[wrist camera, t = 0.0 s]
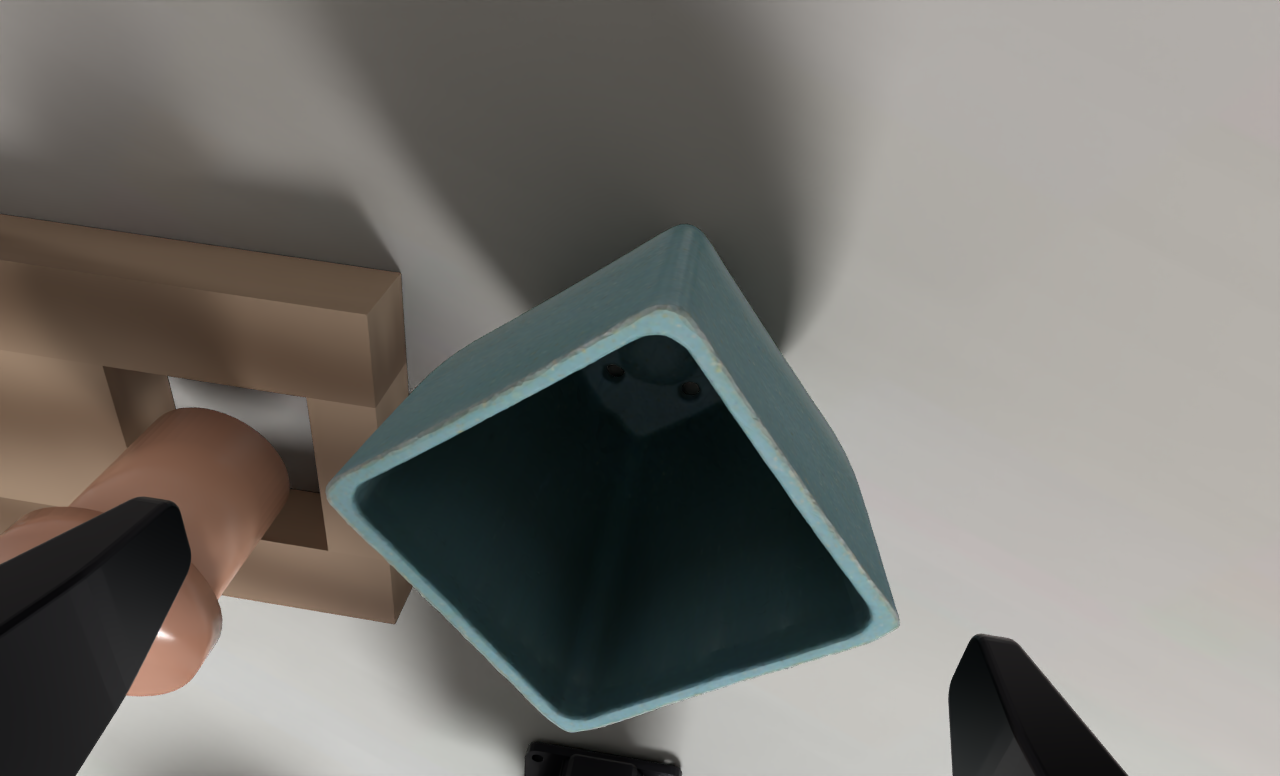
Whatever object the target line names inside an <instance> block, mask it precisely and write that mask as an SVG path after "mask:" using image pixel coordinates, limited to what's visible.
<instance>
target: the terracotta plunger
mask: <svg viewBox="0 0 1280 776" xmlns="http://www.w3.org/2000/svg"><path fill="white" fill-rule="evenodd" d="M289 492H290V481H289V476H288V472H287V469H286V467H285V464H284V463H283V461H282V459H281V457H280V456H279V454H278V453H277V451H276V450H275V449H274V448H273V446H272V445H271V444H270V443H269V442H268V441H267V440H266V439H265V438H264V437H263V436H262V435H261V434H259V433H258V432H257V431H255V430H254V429H253V428H251V427H250V426H248V425H247V424H245V423H244V422H242V421H240V420H238V419H236V418H234V417H232V416H229V415H227V414H224V413H221V412H218V411H215V410H210V409H205V408H196V407H194V408H180V409H175V410H172V411H169V412H167V413H165V414H163V415H162V416H160V417H159V418H158V419H157V420H156V421H155V422H153V423H152V424H151V425H150V426H149V427H148V428H147V429H146V430H145V431H144V432H143V433H142V434H141V435H140V436H139V437H138V438H137V439H136V440H135V441H134V442H133V443H132V444H131V445H130V446H129V447H128V448H127V449H126V450H125V451H124V452H123V453H122V454H121V455H120V456H119V457H118V458H117V459H116V460H115V461H114V462H113V463H112V464H111V465H110V466H109V467H108V468H107V469H106V470H105V471H104V472H103V473H102V474H101V475H100V476H98V477H97V478H96V479H95V480H94V481H93V482H92V483H91V484H90V485H89V486H88V487H87V488H86V489H85V490H84V491H83V492H82V493H81V494H80V495H79V496H78V497H77V498H76V499H75V500H74V501H73V502H72V503H71V504H70V505H69V506H68V507H48V508H42V509H38V510H34V511H32V512H29V513H27V514H25V515H23V516H22V517H20V518H19V519H17V520H16V521H15V522H14V523H13V524H12V525H11V526H9V527H8V528H7V529H6V530H5V531H4V532H3V533H2V534H1V535H0V564H2V563H4V562H6V561H8V560H10V559H12V558H14V557H16V556H18V555H20V554H22V553H24V552H26V551H28V550H30V549H32V548H34V547H36V546H38V545H40V544H42V543H44V542H46V541H48V540H50V539H52V538H54V537H56V536H58V535H60V534H62V533H64V532H66V531H68V530H70V529H72V528H74V527H76V526H78V525H80V524H82V523H84V522H86V521H88V520H90V519H92V518H94V517H96V516H98V515H100V514H102V513H104V512H106V511H108V510H110V509H112V508H114V507H116V506H118V505H120V504H122V503H124V502H126V501H128V500H130V499H133V498H135V497H142V496H145V497H151V498H157V499H164V500H170V501H172V502H174V503H175V504H176V505H177V506H178V507H179V509H180V511H181V515H182V519H183V523H184V526H185V530H186V534H187V538H188V541H189V545H190V549H191V564H190V568H189V571H188V574H187V576H186V578H185V580H184V582H183V584H182V586H181V588H180V590H179V592H178V594H177V596H176V598H175V600H174V602H173V604H172V606H171V608H170V610H169V612H168V614H167V616H166V618H165V620H164V622H163V624H162V626H161V628H160V630H159V632H158V634H157V636H156V638H155V640H154V642H153V644H152V646H151V648H150V650H149V652H148V654H147V656H146V658H145V660H144V662H143V664H142V666H141V668H140V670H139V672H138V674H137V676H136V678H135V680H134V682H133V684H132V686H131V687H130V689H129V691H128V693H127V695H128V696H154V695H160V694H166V693H169V692H172V691H175V690H177V689H179V688H181V687H183V686H184V685H185V684H187V683H188V682H189V681H190V680H191V679H192V678H193V677H194V676H195V674H196V673H197V671H198V670H199V668H200V667H201V665H202V664H203V662H204V661H205V659H206V658H207V656H208V655H209V653H210V652H211V651H212V649H213V648H214V646H215V645H216V643H217V641H218V639H219V637H220V634H221V630H222V614H221V608H220V606H219V603H218V599H219V598H220V596H221V595H222V593H223V592H224V590H225V589H226V588H227V586H228V585H229V583H230V582H231V581H232V579H233V578H234V576H235V575H236V573H237V572H238V571H239V569H240V568H241V566H242V565H243V564H244V562H245V561H246V559H247V558H248V556H249V555H250V554H251V552H252V551H253V549H254V548H255V547H256V545H257V544H258V542H259V541H260V539H261V538H262V537H263V535H264V534H265V532H266V531H267V530H268V528H269V527H270V525H271V524H272V522H273V521H274V520H275V518H276V517H277V515H278V514H279V513H280V511H281V510H282V508H283V507H284V505H285V504H286V502H287V500H288V496H289Z"/></svg>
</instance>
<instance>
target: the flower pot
mask: <svg viewBox="0 0 1280 776" xmlns="http://www.w3.org/2000/svg"><path fill="white" fill-rule="evenodd" d="M612 364H615V365H617V366H619V367H621V368H622V369H623V370H624V374H623V375H622V376H619V377H615V376H612V375H610V373H609V372H608V370H607V367H608V365H612ZM686 382H694V383H696V384H697V385H698V386H699V388H700V391H699V392H698V393H697V394H696V395H687V394H685V393H684V392H683V391H682V385H683V384H684V383H686ZM325 493H326V496H327V500H328V502H329V504H330V505H331V506H332V507H333V508H334V509H335V510H336V511H337V512H338V514H339V515H340V516H341V517H342V518H343V519H344V520H345V521H346V523H347V524H348V525H350V526H351V527H352V528H353V529H354V530H355V531H356V532H357V533H358V534H359V535H360V536H361V537H362V538H363V539H364V540H365V541H366V542H367V543H368V544H369V545H370V546H371V547H372V548H374V549H375V550H376V551H377V552H378V553H379V554H381V555H382V556H383V557H384V559H385V560H386V561H387V562H388V563H389V564H390V565H391V566H393V567H394V568H395V569H396V570H397V571H398V572H399V573H400V574H401V575H402V576H403V577H404V578H405V579H406V580H407V581H408V582H409V583H410V584H411V585H412V586H413V587H414V588H415V589H416V590H417V591H418V592H419V593H420V595H421V596H422V597H424V598H425V599H426V600H427V601H428V602H429V603H430V604H431V605H432V606H433V607H434V608H435V609H437V610H438V611H439V612H440V613H441V614H442V615H443V616H444V617H445V618H446V619H447V621H448V622H450V623H451V624H452V625H453V626H454V627H455V628H456V629H457V630H458V631H459V632H460V633H461V634H462V636H463V637H464V638H465V639H466V640H467V641H469V642H470V643H471V644H472V645H473V646H474V647H475V648H476V649H477V650H478V651H479V652H480V653H481V654H482V655H484V657H485V658H486V659H487V660H488V661H489V662H490V663H491V664H492V665H493V666H494V668H495V669H496V670H497V671H498V672H499V673H501V674H502V675H503V676H504V677H505V678H506V679H507V680H509V681H510V682H511V683H512V684H513V685H514V686H515V688H516V689H517V690H518V691H519V692H520V693H522V695H523V696H524V697H525V698H526V699H527V700H528V701H529V702H530V703H531V704H532V705H533V706H534V707H535V708H536V709H537V710H538V711H539V712H540V713H541V714H542V715H544V716H545V717H546V718H547V719H548V720H550V721H551V722H552V723H554V724H555V725H557V726H558V727H559V728H561V729H562V730H564V731H567V732H570V733H573V732H579V731H585V730H591V729H597V728H601V727H606V726H607V725H612V724H614V723H617V722H620V721H623V720H625V719H630V718H633V717H635V716H639V715H641V714H644V713H646V712H650V711H653V710H657V709H658V708H660V707H664V706H667V705H672V704H674V703H675V702H679V701H683V700H685V699H687V698H691V697H695V696H698V695H702V694H704V693H707V692H710V691H714V690H718V689H719V688H724V687H726V686H729V685H732V684H735V683H738V682H741V681H746V680H748V679H753V678H756V677H759V676H761V675H765V674H769V673H773V672H775V671H780V670H783V669H788V668H792V667H794V666H797V665H799V664H802V663H805V662H809V661H814V660H817V659H820V658H823V657H826V656H828V655H833V654H837V653H840V652H843V651H846V650H849V649H852V648H856V647H859V646H862V645H865V644H868V643H871V642H873V641H875V640H877V639H879V638H881V637H883V636H885V635H887V634H889V633H890V632H892V631H894V630H895V629H897V628H898V627H899V626H900V621H899V615H898V613H897V610H896V607H895V603H894V600H893V597H892V593H891V590H890V587H889V583H888V580H887V577H886V574H885V570H884V567H883V564H882V560H881V557H880V553H879V550H878V546H877V543H876V540H875V537H874V534H873V530H872V527H871V523H870V520H869V516H868V513H867V510H866V507H865V504H864V500H863V497H862V494H861V491H860V488H859V485H858V482H857V479H856V477H855V474H854V471H853V469H852V467H851V465H850V462H849V460H848V458H847V456H846V453H845V452H844V450H843V448H842V446H841V444H840V442H839V441H838V439H837V437H836V435H835V434H834V432H833V430H832V429H831V427H830V426H829V424H828V423H827V421H826V420H825V418H824V417H823V415H822V414H821V412H820V411H819V409H818V408H817V406H816V405H815V404H814V402H813V401H812V399H811V397H810V396H809V394H808V393H807V391H806V390H805V388H804V387H803V385H802V384H801V382H800V381H799V379H798V378H797V376H796V375H795V373H794V372H793V370H792V369H791V367H790V366H789V364H788V363H787V361H786V360H785V358H784V357H783V355H782V354H781V352H780V351H779V349H778V348H777V346H776V345H775V343H774V341H773V340H772V338H771V337H770V335H769V334H768V332H767V331H766V329H765V328H764V326H763V325H762V323H761V321H760V320H759V318H758V317H757V315H756V314H755V312H754V311H753V309H752V308H751V306H750V304H749V303H748V301H747V300H746V298H745V297H744V295H743V294H742V292H741V290H740V289H739V287H738V286H737V284H736V283H735V281H734V279H733V278H732V276H731V275H730V273H729V272H728V270H727V269H726V267H725V265H724V264H723V262H722V260H721V259H720V257H719V256H718V254H717V252H716V251H715V249H714V247H713V246H712V244H711V243H710V241H709V240H708V239H707V237H706V236H705V235H704V233H703V232H702V231H700V230H699V229H698V228H696V227H695V226H693V225H689V224H680V225H677V226H675V227H672V228H670V229H668V230H666V231H664V232H663V233H661V234H659V235H657V236H656V237H654V238H652V239H651V240H649V241H647V242H646V243H644V244H642V245H641V246H639V247H637V248H636V249H634V250H632V251H631V252H629V253H627V254H626V255H624V256H622V257H621V258H619V259H617V260H616V261H614V262H612V263H610V264H609V265H607V266H605V267H604V268H602V269H600V270H598V271H597V272H595V273H593V274H592V275H590V276H588V277H586V278H585V279H583V280H581V281H580V282H578V283H576V284H574V285H573V286H571V287H569V288H568V289H566V290H564V291H562V292H561V293H559V294H557V295H555V296H554V297H552V298H550V299H548V300H547V301H545V302H543V303H541V304H540V305H538V306H536V307H534V308H533V309H531V310H529V311H527V312H525V313H524V314H522V315H520V316H519V317H517V318H515V319H513V320H512V321H510V322H508V323H506V324H504V325H503V326H501V327H499V328H497V329H495V330H494V331H492V332H490V333H488V334H486V335H485V336H483V337H481V338H479V339H478V340H476V341H474V342H472V343H471V344H469V345H468V346H466V347H465V348H463V349H461V350H460V351H458V352H457V353H456V354H454V355H453V356H451V357H450V358H449V359H447V360H446V361H445V362H443V363H442V364H441V365H440V366H439V367H437V368H436V369H435V370H434V371H433V372H432V373H431V374H429V375H428V376H427V377H426V378H425V379H424V380H423V381H422V382H421V383H420V384H419V385H418V386H417V387H416V388H415V389H414V390H413V392H412V393H411V394H410V395H409V396H408V397H407V398H406V399H405V400H404V401H403V402H402V403H401V404H400V405H399V406H398V407H397V408H396V409H395V410H394V412H393V413H392V414H391V415H390V416H389V417H388V418H387V419H386V420H385V421H384V422H383V423H382V424H381V425H380V427H379V428H378V429H377V430H376V431H375V432H374V433H373V434H372V435H371V436H370V437H369V438H368V439H367V440H366V442H365V443H364V444H363V445H362V446H361V447H360V448H359V449H358V451H357V452H356V453H355V454H354V455H353V456H352V457H351V458H350V460H349V461H348V462H347V463H346V464H345V465H344V466H343V467H342V468H341V469H340V471H339V472H338V473H337V474H336V475H335V476H334V477H333V478H332V479H331V481H330V482H329V483H328V485H327V486H326V491H325Z"/></svg>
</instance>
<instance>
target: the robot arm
mask: <svg viewBox="0 0 1280 776" xmlns="http://www.w3.org/2000/svg"><path fill="white" fill-rule="evenodd" d="M190 564H191V549H190V545H189V541H188V538H187V534H186V530H185V526H184V523H183V519H182V515H181V511H180V509H179V507H178V506H177V505H176V504H175V503H174V502H172V501H170V500H164V499H157V498H151V497H145V496H142V497H135V498H133V499H130V500H128V501H126V502H124V503H122V504H120V505H118V506H116V507H114V508H112V509H110V510H108V511H106V512H104V513H102V514H100V515H98V516H96V517H94V518H92V519H90V520H88V521H86V522H84V523H82V524H80V525H78V526H76V527H74V528H72V529H70V530H68V531H66V532H64V533H62V534H60V535H58V536H56V537H54V538H52V539H50V540H48V541H46V542H44V543H42V544H40V545H38V546H36V547H34V548H32V549H30V550H28V551H26V552H24V553H22V554H20V555H18V556H16V557H14V558H12V559H10V560H8V561H6V562H4V563H2V564H0V776H76V774H77V773H78V771H79V770H80V768H81V766H82V765H83V763H84V762H85V760H86V758H87V757H88V755H89V754H90V752H91V751H92V749H93V747H94V746H95V744H96V743H97V741H98V740H99V738H100V736H101V735H102V733H103V732H104V730H105V729H106V727H107V725H108V724H109V722H110V721H111V719H112V717H113V716H114V714H115V713H116V711H117V709H118V708H119V706H120V704H121V703H122V701H123V700H124V698H125V696H126V695H127V693H128V691H129V689H130V687H131V686H132V684H133V682H134V680H135V678H136V676H137V674H138V672H139V670H140V668H141V666H142V664H143V662H144V660H145V658H146V656H147V654H148V652H149V650H150V648H151V646H152V644H153V642H154V640H155V638H156V636H157V634H158V632H159V630H160V628H161V626H162V624H163V622H164V620H165V618H166V616H167V614H168V612H169V610H170V608H171V606H172V604H173V602H174V600H175V598H176V596H177V594H178V592H179V590H180V588H181V586H182V584H183V582H184V580H185V578H186V576H187V574H188V571H189V568H190ZM948 704H949V721H950V738H951V755H952V773H953V776H1128V775H1127V774H1126V772H1125V771H1124V770H1123V769H1122V768H1121V766H1120V765H1119V764H1118V763H1117V762H1116V760H1115V759H1114V758H1113V757H1112V756H1111V754H1110V753H1109V752H1108V751H1107V750H1106V748H1105V747H1104V746H1103V745H1102V744H1101V742H1100V741H1099V740H1098V739H1097V738H1096V736H1095V735H1094V734H1093V733H1092V732H1091V730H1090V729H1089V728H1088V727H1087V726H1086V724H1085V723H1084V722H1083V721H1082V720H1081V718H1080V717H1079V716H1078V715H1077V714H1076V712H1075V711H1074V710H1073V709H1072V707H1071V706H1070V705H1069V704H1068V703H1067V701H1066V700H1065V699H1064V698H1063V697H1062V695H1061V694H1060V693H1059V692H1058V691H1057V689H1056V688H1055V687H1054V686H1053V685H1052V683H1051V682H1050V681H1049V680H1048V679H1047V677H1046V676H1045V675H1044V674H1043V673H1042V671H1041V670H1040V669H1039V668H1038V667H1037V665H1036V664H1035V663H1034V662H1033V661H1032V659H1031V658H1030V657H1029V656H1028V655H1027V653H1026V652H1025V651H1024V650H1023V649H1022V647H1021V646H1020V645H1019V644H1018V643H1016V642H1015V641H1014V640H1012V639H1009V638H1004V637H998V636H992V635H986V634H977V635H975V636H973V637H972V638H971V640H970V641H969V643H968V645H967V648H966V650H965V652H964V654H963V656H962V658H961V660H960V662H959V665H958V667H957V669H956V671H955V673H954V675H953V677H952V680H951V683H950V687H949V697H948ZM525 776H682V771H681V770H680V769H679V768H677V767H675V766H672V765H667V764H661V763H655V762H649V761H644V760H638V759H632V758H626V757H621V756H615V755H609V754H603V753H598V752H592V751H586V750H580V749H575V748H569V747H563V746H557V745H552V744H546V743H540V742H534V743H531V744H529V746H528V749H527V752H526V756H525Z"/></svg>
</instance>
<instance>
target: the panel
mask: <svg viewBox="0 0 1280 776" xmlns="http://www.w3.org/2000/svg"><path fill="white" fill-rule="evenodd" d="M167 376H171V377H178V378H184V379H191V380H197V381H203V382H210V383H216V384H223V385H229V386H236V387H242V388H249V389H255V390H261V391H268V392H274V393H281V394H287V395H294V396H300V397H306V399H307V406H308V413H309V419H310V426H311V433H312V440H313V447H314V454H315V461H316V468H317V475H318V482H319V489H320V494H319V493H313V492H307V491H301V490H294V489H290V492H289V496H288V500H287V502H286V504H285V505H284V507H283V508H282V510H281V511H280V513H279V514H278V515H277V517H276V518H275V520H274V521H273V522H272V524H271V525H270V527H269V528H268V530H267V531H266V532H265V534H264V535H263V537H262V538H261V539H260V541H259V542H258V544H257V545H256V547H255V548H254V549H253V551H252V552H251V554H250V555H249V556H248V558H247V559H246V561H245V562H244V564H243V565H242V566H241V568H240V569H239V571H238V572H237V573H236V575H235V576H234V578H233V579H232V581H231V582H230V583H229V585H228V586H227V588H226V589H225V590H224V592H223V593H222V595H224V596H230V597H236V598H242V599H248V600H254V601H260V602H265V603H271V604H277V605H283V606H289V607H295V608H301V609H307V610H313V611H319V612H325V613H331V614H337V615H343V616H349V617H355V618H361V619H367V620H372V621H378V622H384V623H390V624H396V621H397V619H398V617H399V615H400V613H401V611H402V608H403V606H404V604H405V602H406V600H407V598H408V596H409V593H410V591H411V589H412V587H413V586H412V585H411V584H410V583H409V582H408V581H407V580H406V579H405V578H404V577H403V576H402V575H401V574H400V573H399V572H398V571H397V570H396V569H395V568H394V567H393V566H391V565H390V564H389V563H388V562H387V561H386V560H385V559H384V557H383V556H382V555H381V554H379V553H378V552H377V551H376V550H375V549H374V548H372V547H371V546H370V545H369V544H368V543H367V542H366V541H365V540H364V539H363V538H362V537H361V536H360V535H359V534H358V533H357V532H356V531H355V530H354V529H353V528H352V527H351V526H350V525H348V524H347V523H346V521H345V520H344V519H343V518H342V517H341V516H340V515H339V514H338V512H337V511H336V510H335V509H334V508H333V507H332V506H331V505H330V504H329V502H328V500H327V496H326V493H325V491H326V486H327V485H328V483H329V482H330V481H331V479H332V478H333V477H334V476H335V475H336V474H337V473H338V472H339V471H340V469H341V468H342V467H343V466H344V465H345V464H346V463H347V462H348V461H349V460H350V458H351V457H352V456H353V455H354V454H355V453H356V452H357V451H358V449H359V448H360V447H361V446H362V445H363V444H364V443H365V442H366V440H367V439H368V438H369V437H370V436H371V435H372V434H373V433H374V432H375V431H376V430H377V429H378V428H379V427H380V425H381V424H382V423H383V422H384V421H385V420H386V419H387V418H388V417H389V416H390V415H391V414H392V413H393V412H394V410H395V409H396V408H397V407H398V406H399V405H400V404H401V403H402V402H403V401H404V400H405V399H406V398H407V397H408V396H409V392H408V376H407V361H406V345H405V329H404V314H403V298H402V283H401V273H397V272H391V271H384V270H377V269H370V268H363V267H357V266H350V265H343V264H336V263H329V262H323V261H316V260H309V259H302V258H295V257H289V256H282V255H275V254H268V253H261V252H255V251H248V250H241V249H234V248H227V247H221V246H214V245H207V244H200V243H193V242H187V241H180V240H173V239H166V238H159V237H153V236H146V235H139V234H132V233H125V232H118V231H112V230H105V229H98V228H91V227H84V226H78V225H71V224H64V223H57V222H50V221H44V220H37V219H30V218H23V217H16V216H10V215H3V214H0V535H1V534H2V533H3V532H4V531H5V530H6V529H7V528H8V527H9V526H11V525H12V524H13V523H14V522H15V521H16V520H17V519H19V518H20V517H22V516H23V515H25V514H27V513H29V512H32V511H34V510H38V509H42V508H48V507H68V506H69V505H70V504H71V503H72V502H73V501H74V500H75V499H76V498H77V497H78V496H79V495H80V494H81V493H82V492H83V491H84V490H85V489H86V488H87V487H88V486H89V485H90V484H91V483H92V482H93V481H94V480H95V479H96V478H97V477H98V476H100V475H101V474H102V473H103V472H104V471H105V470H106V469H107V468H108V467H109V466H110V465H111V464H112V463H113V462H114V461H115V460H116V459H117V458H118V457H119V456H120V455H121V454H122V453H123V452H124V451H125V450H126V449H127V448H128V447H129V446H130V445H131V444H132V443H133V442H134V441H135V440H136V439H137V438H138V437H139V436H140V435H141V434H142V433H143V432H144V431H145V430H146V429H147V428H148V427H149V426H150V425H151V424H152V423H153V422H155V421H156V420H157V419H158V418H159V417H160V416H162V415H163V414H165V413H167V412H169V411H172V410H175V405H174V401H173V397H172V393H171V389H170V385H169V381H168V377H167Z"/></svg>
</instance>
